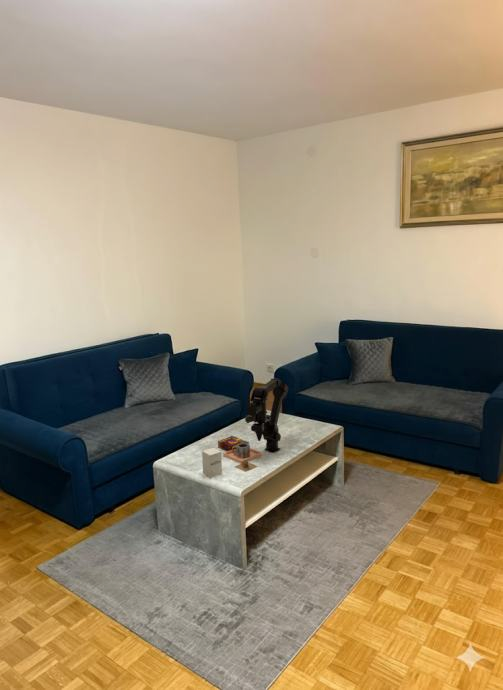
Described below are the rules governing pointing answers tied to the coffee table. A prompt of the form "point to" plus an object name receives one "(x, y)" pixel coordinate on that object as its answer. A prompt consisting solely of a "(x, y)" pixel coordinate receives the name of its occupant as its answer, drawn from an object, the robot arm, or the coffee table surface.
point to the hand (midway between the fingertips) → (261, 437)
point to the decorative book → (230, 443)
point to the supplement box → (212, 462)
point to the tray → (252, 456)
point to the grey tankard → (242, 450)
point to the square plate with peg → (246, 466)
